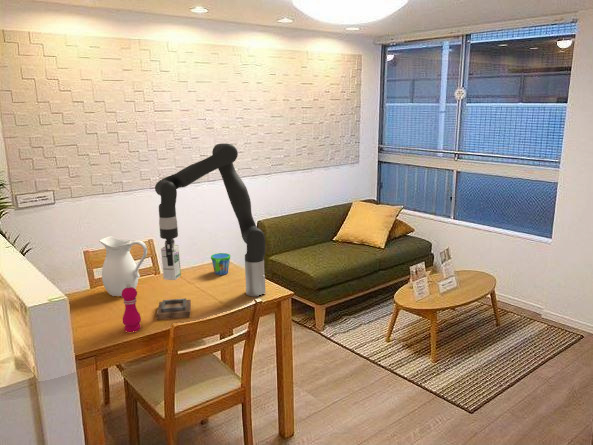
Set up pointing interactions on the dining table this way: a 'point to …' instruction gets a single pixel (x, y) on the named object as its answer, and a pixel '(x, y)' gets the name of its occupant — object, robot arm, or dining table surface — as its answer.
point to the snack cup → (220, 263)
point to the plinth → (174, 309)
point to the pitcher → (120, 265)
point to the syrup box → (174, 270)
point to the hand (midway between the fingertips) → (171, 263)
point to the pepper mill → (130, 310)
